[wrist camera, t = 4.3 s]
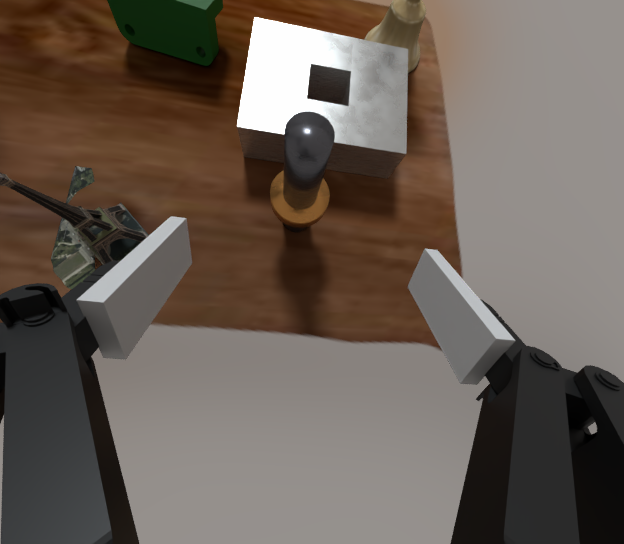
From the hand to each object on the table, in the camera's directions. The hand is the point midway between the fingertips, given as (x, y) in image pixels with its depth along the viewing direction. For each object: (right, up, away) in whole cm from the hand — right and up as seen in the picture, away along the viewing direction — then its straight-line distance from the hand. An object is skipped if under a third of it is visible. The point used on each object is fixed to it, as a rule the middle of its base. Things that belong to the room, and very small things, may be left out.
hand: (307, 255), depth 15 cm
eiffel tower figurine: (-21, +3, +14) cm, 26 cm away
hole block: (+2, +19, +19) cm, 26 cm away
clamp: (-17, +29, +19) cm, 38 cm away
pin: (-2, +5, +16) cm, 17 cm away
